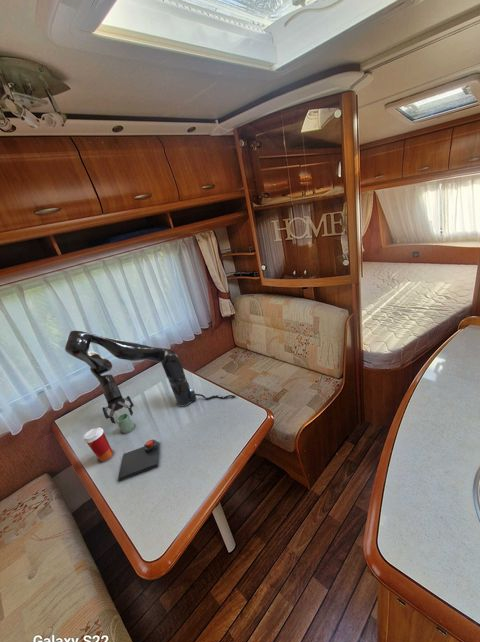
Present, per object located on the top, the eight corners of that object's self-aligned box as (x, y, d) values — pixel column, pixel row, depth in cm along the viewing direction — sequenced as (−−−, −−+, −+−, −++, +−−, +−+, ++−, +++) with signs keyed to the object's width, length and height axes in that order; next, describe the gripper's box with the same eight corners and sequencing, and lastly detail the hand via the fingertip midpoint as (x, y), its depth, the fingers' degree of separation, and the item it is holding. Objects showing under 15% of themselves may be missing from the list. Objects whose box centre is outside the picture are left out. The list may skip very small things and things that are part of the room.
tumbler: (134, 423, 149) (129, 411, 145) (133, 430, 143) (127, 419, 140) (123, 427, 147) (117, 415, 144) (121, 434, 142) (115, 423, 139)
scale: (159, 443, 131) (156, 437, 129) (157, 466, 118) (155, 460, 117) (125, 455, 128) (122, 450, 126) (119, 481, 115) (116, 475, 113)
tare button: (153, 441, 128) (152, 439, 127) (153, 446, 125) (152, 443, 125) (147, 444, 127) (146, 441, 127) (146, 448, 125) (145, 445, 124)
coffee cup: (102, 451, 133) (88, 428, 127) (118, 447, 133) (105, 424, 127) (93, 465, 126) (78, 442, 120) (111, 461, 126) (96, 438, 120)
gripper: (126, 388, 154) (137, 414, 149) (99, 400, 148) (110, 427, 143) (124, 384, 148) (136, 411, 143) (96, 397, 141) (107, 425, 137)
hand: (123, 419), depth 143 cm, fingers open, 8 cm apart
